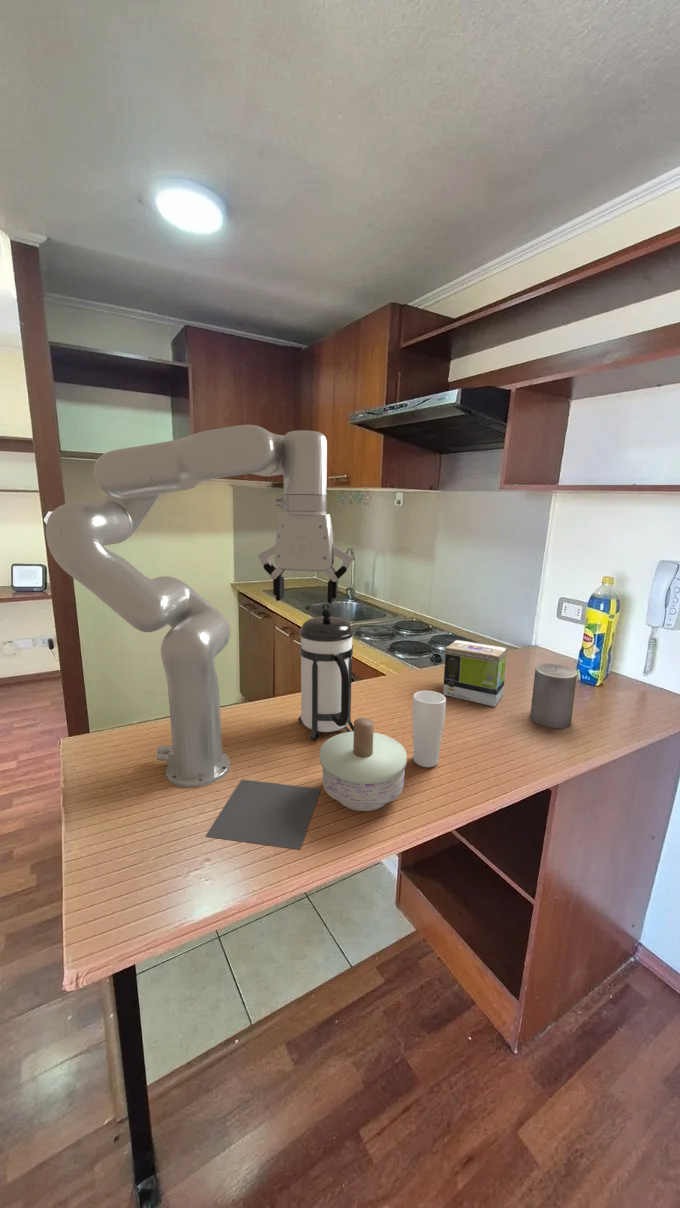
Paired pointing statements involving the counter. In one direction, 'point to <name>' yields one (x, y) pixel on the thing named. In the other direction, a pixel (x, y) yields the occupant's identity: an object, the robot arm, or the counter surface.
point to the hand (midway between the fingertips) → (305, 600)
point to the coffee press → (326, 674)
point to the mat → (266, 814)
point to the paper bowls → (363, 792)
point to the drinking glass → (427, 727)
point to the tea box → (474, 672)
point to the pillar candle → (553, 695)
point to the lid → (363, 755)
